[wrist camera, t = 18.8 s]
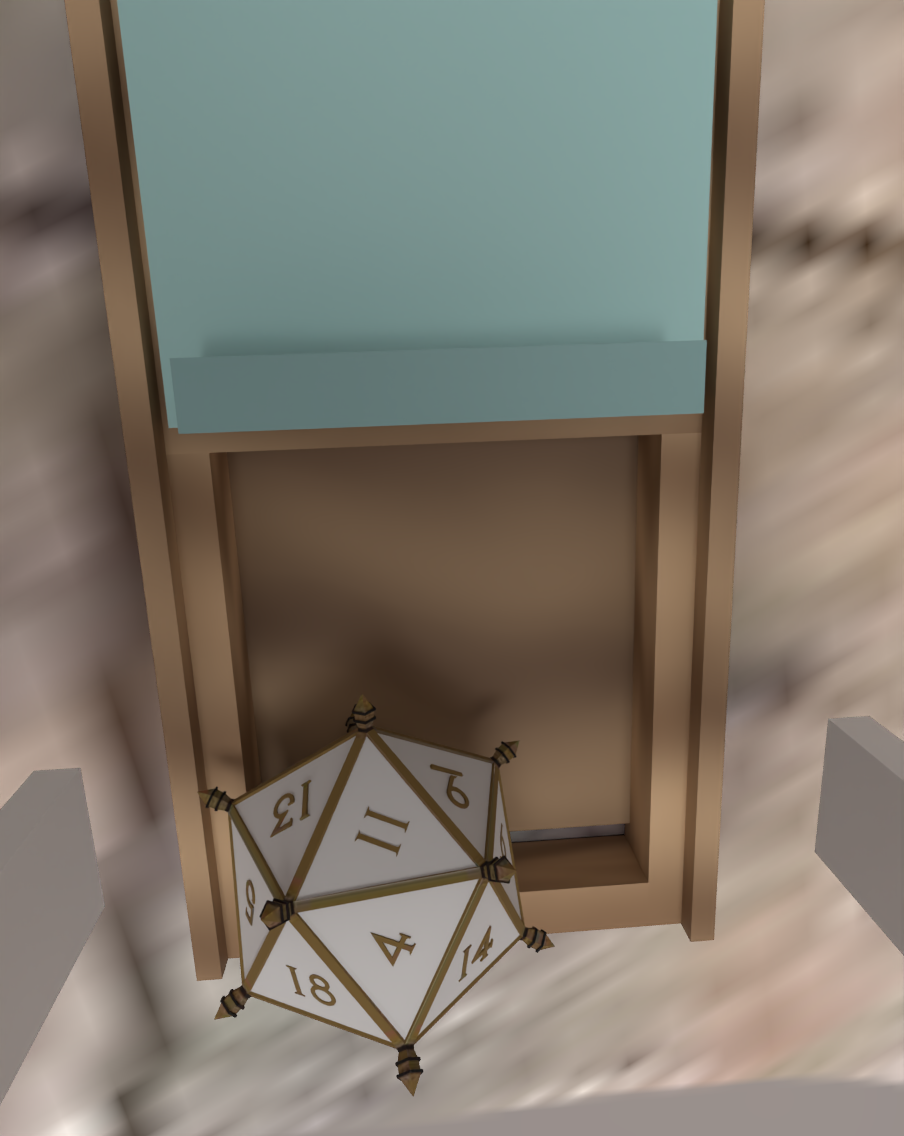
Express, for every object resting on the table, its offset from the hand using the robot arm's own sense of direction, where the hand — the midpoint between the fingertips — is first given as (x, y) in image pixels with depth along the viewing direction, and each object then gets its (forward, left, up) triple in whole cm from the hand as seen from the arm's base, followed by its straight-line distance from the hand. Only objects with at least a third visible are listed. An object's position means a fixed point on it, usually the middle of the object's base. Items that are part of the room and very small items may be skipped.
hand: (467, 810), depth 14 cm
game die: (+1, -1, -7) cm, 7 cm away
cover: (-13, 0, -8) cm, 15 cm away
